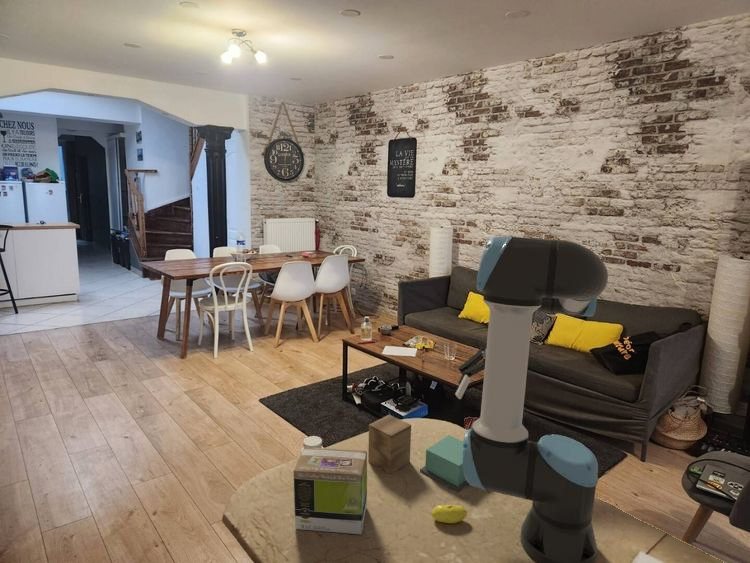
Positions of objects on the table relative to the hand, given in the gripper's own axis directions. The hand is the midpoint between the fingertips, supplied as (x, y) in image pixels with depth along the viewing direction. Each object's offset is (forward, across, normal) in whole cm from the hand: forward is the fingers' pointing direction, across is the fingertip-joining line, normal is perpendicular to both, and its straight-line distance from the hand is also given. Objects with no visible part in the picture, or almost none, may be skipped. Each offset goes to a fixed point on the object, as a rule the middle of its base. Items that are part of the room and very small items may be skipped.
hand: (478, 405), depth 134 cm
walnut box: (+24, +15, +2) cm, 29 cm away
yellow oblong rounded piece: (+30, -10, +8) cm, 33 cm away
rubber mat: (+18, 0, -4) cm, 19 cm away
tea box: (+43, +10, +20) cm, 49 cm away
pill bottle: (+39, +23, +16) cm, 48 cm away
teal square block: (+18, 0, -3) cm, 18 cm away
